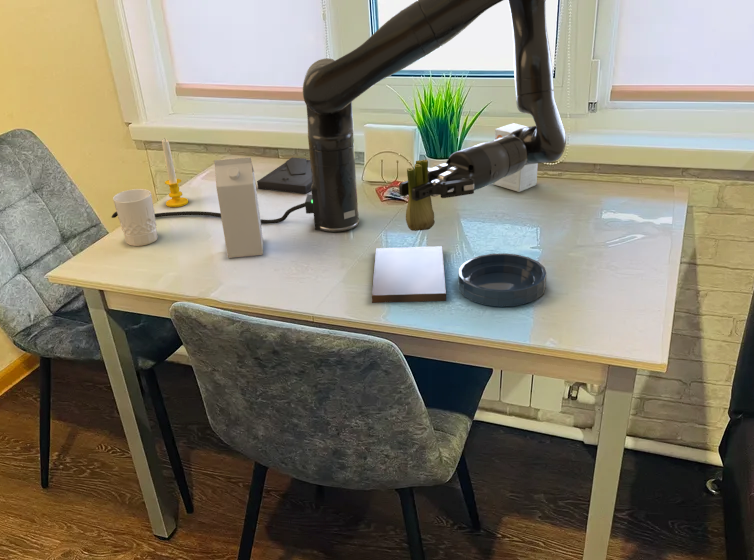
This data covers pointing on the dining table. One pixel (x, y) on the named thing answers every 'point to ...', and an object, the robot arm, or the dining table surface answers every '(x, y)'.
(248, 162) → the milk carton
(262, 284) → the dining table surface
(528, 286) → the bowl
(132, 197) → the white cup
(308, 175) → the picture frame
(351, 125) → the robot arm
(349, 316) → the dining table surface
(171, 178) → the candle
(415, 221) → the fennel bulb
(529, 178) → the small box
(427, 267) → the board
